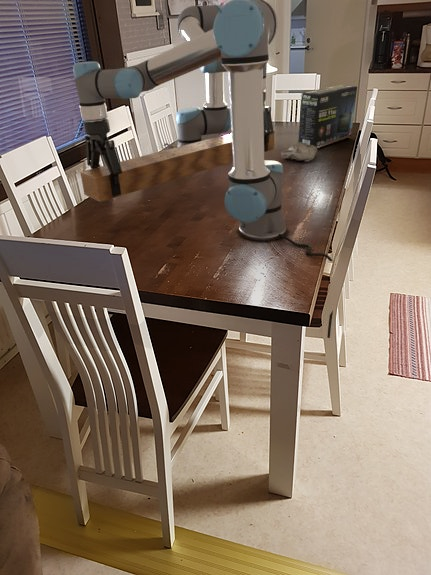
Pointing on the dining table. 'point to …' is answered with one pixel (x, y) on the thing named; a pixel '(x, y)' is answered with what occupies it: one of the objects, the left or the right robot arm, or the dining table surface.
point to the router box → (326, 114)
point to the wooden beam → (161, 167)
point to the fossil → (300, 152)
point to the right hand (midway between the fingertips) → (108, 191)
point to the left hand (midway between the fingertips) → (255, 148)
